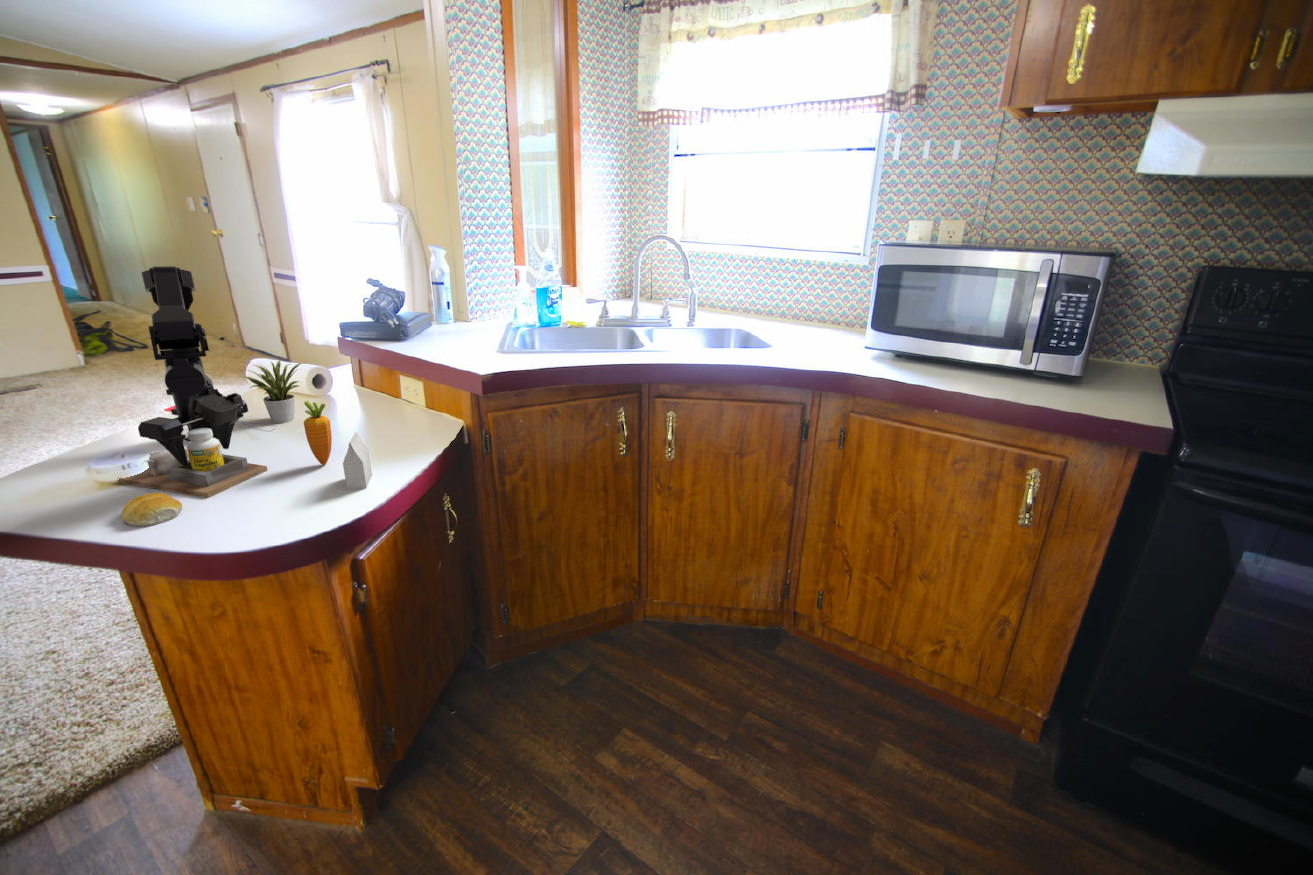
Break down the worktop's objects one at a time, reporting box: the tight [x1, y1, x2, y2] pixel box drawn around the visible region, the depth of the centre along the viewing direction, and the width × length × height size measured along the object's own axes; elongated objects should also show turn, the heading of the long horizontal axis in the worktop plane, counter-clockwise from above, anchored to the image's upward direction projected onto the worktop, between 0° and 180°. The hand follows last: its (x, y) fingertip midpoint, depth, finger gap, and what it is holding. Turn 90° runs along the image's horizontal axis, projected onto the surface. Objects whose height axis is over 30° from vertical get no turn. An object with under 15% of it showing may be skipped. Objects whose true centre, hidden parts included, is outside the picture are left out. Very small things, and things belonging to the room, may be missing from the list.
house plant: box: [243, 359, 307, 424], centre depth 156 cm, size 14×14×16 cm
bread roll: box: [120, 492, 183, 527], centre depth 107 cm, size 8×9×4 cm
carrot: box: [303, 400, 333, 466], centre depth 129 cm, size 5×5×15 cm
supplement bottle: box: [186, 428, 224, 472], centre depth 121 cm, size 5×5×10 cm
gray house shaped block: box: [342, 432, 373, 490], centre depth 123 cm, size 4×7×10 cm, turn 16°
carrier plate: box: [117, 448, 268, 499], centre depth 123 cm, size 22×14×4 cm, turn 77°
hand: (206, 456), depth 121 cm, fingers open, 9 cm apart
